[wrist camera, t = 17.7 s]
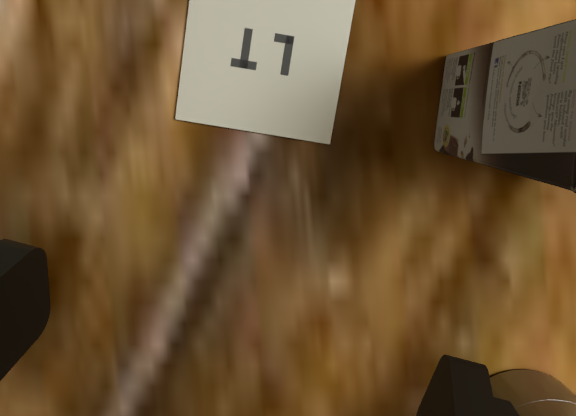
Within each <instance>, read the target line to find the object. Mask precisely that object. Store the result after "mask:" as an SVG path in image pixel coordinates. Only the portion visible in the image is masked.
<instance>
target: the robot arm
mask: <svg viewBox="0 0 576 416" xmlns="http://www.w3.org/2000/svg"><path fill="white" fill-rule="evenodd" d="M49 314H50V294H49V281H48V268H47V257H46V253H45V251H44V250H43V249H41V248H38V247H35V246H31V245H27V244H23V243H19V242H15V241H12V240H8V239H3V240H0V381H1V380H2V378H3V377H4V376H5V375H6V374H7V373H8V372H9V370H10V369H11V368H12V367H13V366H14V365H15V364H16V363H17V361H18V360H19V359H20V358H21V357H22V356H23V355H24V353H25V352H26V351H27V350H28V349H29V348H30V347H31V345H32V344H33V343H34V342H35V341H36V340H37V339H38V337H39V336H40V335H41V333H42V332H43V330H44V328H45V326H46V324H47V321H48V318H49ZM416 416H576V395H574V394H573V393H572V392H571V391H570V390H569V389H568V388H567V387H565V386H564V385H563V384H562V383H561V382H560V381H558V380H557V379H555V378H554V377H552V376H550V375H547V374H545V373H542V372H539V371H533V370H527V369H525V370H511V371H507V372H503V373H499V374H497V375H495V376H492V377H489V373H488V369H487V367H486V366H485V365H483V364H479V363H475V362H472V361H468V360H464V359H460V358H456V357H452V356H449V355H443V356H442V357H441V359H440V361H439V363H438V365H437V367H436V370H435V372H434V374H433V376H432V379H431V381H430V383H429V386H428V388H427V390H426V392H425V395H424V397H423V399H422V401H421V404H420V406H419V409H418V412H417V415H416Z"/></svg>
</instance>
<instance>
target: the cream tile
mask: <svg viewBox="0 0 576 416" xmlns="http://www.w3.org/2000/svg"><path fill="white" fill-rule="evenodd" d="M354 6H355V0H189V8H188V16H187V25H186V33H185V41H184V50H183V58H182V66H181V74H180V83H179V91H178V99H177V108H176V116H175V119H177V120H183V121H189V122H195V123H201V124H207V125H213V126H220V127H226V128H232V129H238V130H244V131H250V132H257V133H263V134H269V135H275V136H281V137H287V138H293V139H300V140H306V141H312V142H318V143H324V144H330V141H331V136H332V130H333V124H334V119H335V113H336V107H337V102H338V96H339V91H340V85H341V79H342V74H343V68H344V62H345V57H346V51H347V45H348V40H349V34H350V28H351V23H352V17H353V11H354Z"/></svg>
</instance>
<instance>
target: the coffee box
mask: <svg viewBox="0 0 576 416" xmlns="http://www.w3.org/2000/svg"><path fill="white" fill-rule="evenodd" d="M434 148H435V150H436V151H438V152H442V153H445V154H448V155H452V156H455V157H459V158H462V159H465V160H469V161H472V162H476V163H480V164H483V165H487V166H490V167H493V168H497V169H500V170H504V171H507V172H510V173H513V174H517V175H520V176H524V177H527V178H530V179H534V180H537V181H541V182H544V183H548V184H551V185H555V186H558V187H561V188H565V189H568V190H571V191H573V192H574V193H576V19H575V20H572V21H567V22H564V23H560V24H556V25H553V26H549V27H546V28H543V29H539V30H535V31H532V32H528V33H524V34H520V35H516V36H513V37H510V38H506V39H502V40H499V41H496V42H493V43H489V44H486V45H482V46H479V47H475V48H471V49H468V50H464V51H460V52H457V53H453V54H449V55H447V56H446V61H445V68H444V74H443V82H442V89H441V96H440V103H439V111H438V118H437V125H436V133H435V142H434Z"/></svg>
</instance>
